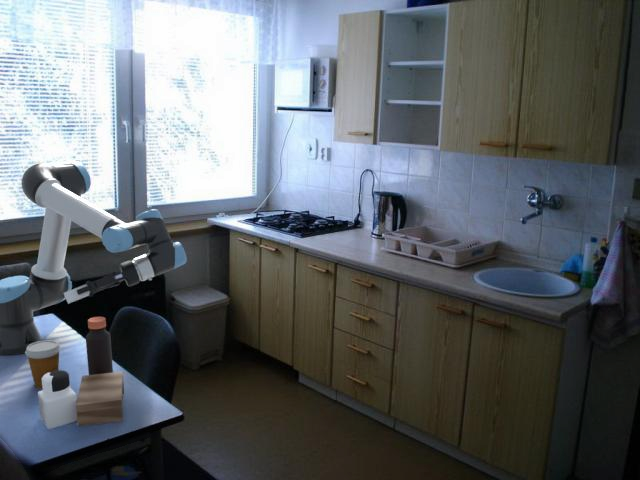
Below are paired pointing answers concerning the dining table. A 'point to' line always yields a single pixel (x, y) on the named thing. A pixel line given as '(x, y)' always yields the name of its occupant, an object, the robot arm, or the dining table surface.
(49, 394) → the container
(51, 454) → the dining table surface
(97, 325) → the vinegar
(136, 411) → the dining table surface
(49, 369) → the disposable coffee cup
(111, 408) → the wooden block
